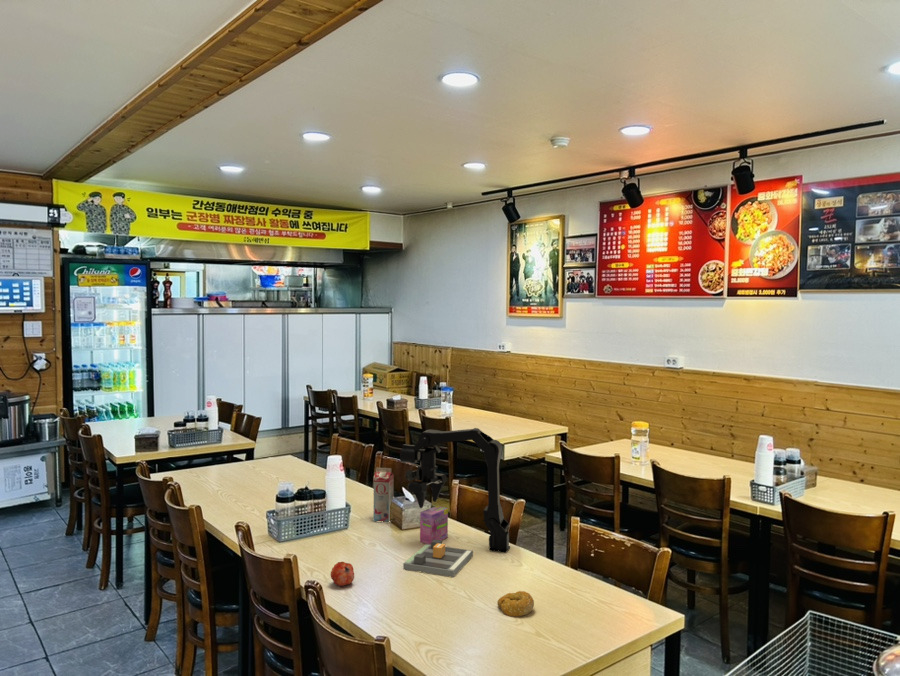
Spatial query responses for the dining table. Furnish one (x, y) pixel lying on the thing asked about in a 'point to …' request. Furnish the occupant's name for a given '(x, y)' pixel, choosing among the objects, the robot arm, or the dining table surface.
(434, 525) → the box
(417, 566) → the panel
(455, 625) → the dining table surface
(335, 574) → the pomegranate
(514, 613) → the bagel
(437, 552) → the handle
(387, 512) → the juice carton
